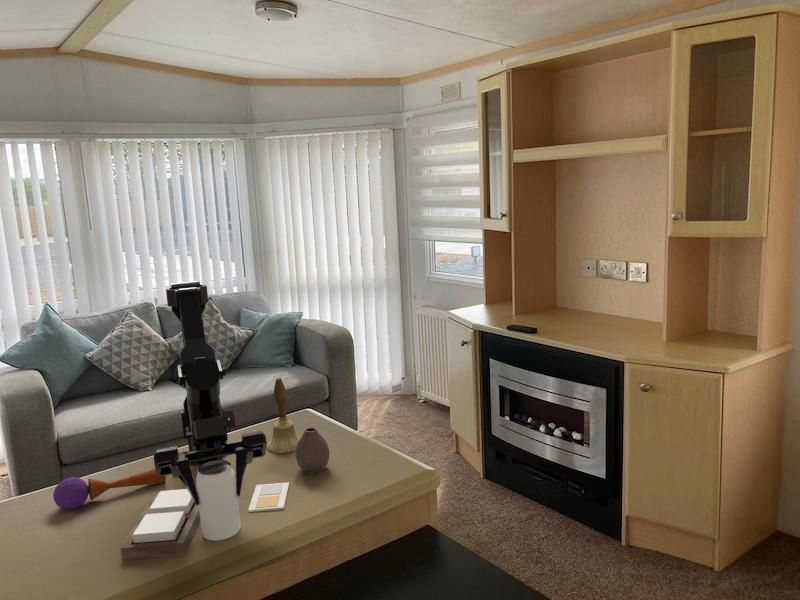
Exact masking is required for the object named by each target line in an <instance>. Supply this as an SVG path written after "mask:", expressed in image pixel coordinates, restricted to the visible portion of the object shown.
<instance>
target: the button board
mask: <svg viewBox="0 0 800 600" xmlns="http://www.w3.org/2000/svg"><path fill="white" fill-rule="evenodd" d="M157 496H158V495H154V496H153V497H152V499H150V501H149V503H148V505H147V507H146V508H145V509H144V511H143V512H142V514H141V515H140V517H139V519H138V521H137V522H136V524H135V525H134V527H133V528H132V530H131V531H130V533H129V534H128V536H127V538H125V541H124V542H123V544H122V545H121V546H120V554H121V560H133V559H134V560H135V559H143V558H144V559H145V558H157V557H158V558H160V557H170V556H180V555H181V556H182V555H186V553H187V550H188V548H189V546H190V544H191V542H192V539H193V537H194V536H195V534H196V531H197V529H198V527H199V524H200V523H201V521H200V513H199V505H197V506H196V504H195V502H194V503H193V505H194V506H193V505H192V506H193V509H192V511H191V512H190V514H185V521H184V523H183V525H182V527H181V529H182V531H181V532H180V535H178V536H179V537H178V538H177V540H172V541H171V540H170V541H162V542H161V541H158V542H146V543H134V540H133V533H134V532H135V530H136V529H137V527H138V526H139V524H140V522H141V521H142V519H143V518H144V516H145V515H146V514H150V510H149V508H150V507H151V505H152V504H153V502H154V500H155V499H156V497H157ZM181 529H180V530H181Z"/></svg>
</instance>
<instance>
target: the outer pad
mask: <svg viewBox="0 0 800 600" xmlns="http://www.w3.org/2000/svg"><path fill="white" fill-rule="evenodd" d="M185 515H186V514H185V512H184V511H180V512H168V513H156V514H146V515H145V516H144V518H143V519H142V521H141V522H140V524H139V526H138V527H137V529H136V530H135V532H134V533H133V540H134V543H139V544H142V543H153V542H161V541H162V542H165V541H171V540H172V541H176V539H177V536H179V535H178V534H179V533H180V530H181V527H182V525H183V523H184V521H185Z"/></svg>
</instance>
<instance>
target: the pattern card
mask: <svg viewBox="0 0 800 600" xmlns="http://www.w3.org/2000/svg"><path fill="white" fill-rule="evenodd" d="M289 488H290V482H289V481H288V482H278V483H266V484H264V483H263V484H256V485H255V487H254V491H253V494H252V498H251V501H250V504H249V507H248V510H247V512H248V513H254V512H267V511H268V512H269V511H277V510H278V511H281V510H284V509H285V506H286V501H287V497H288V491H289Z"/></svg>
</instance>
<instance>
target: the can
mask: <svg viewBox="0 0 800 600" xmlns="http://www.w3.org/2000/svg"><path fill="white" fill-rule="evenodd" d="M196 472H197V474H196V477H195V487H196V489H197V495H198V502H199V513H200V527H201V534H202V535H201V536H202V537H203V538H204V539H205V540H207V541H210V542H221V541H227V540H229V539H231V538H233V537H235V536H236V535H237V534H238V533H239V532H240V531H241V530H240V529H241V528H242V527H241V526H242V525H241V516H240V507H239V499H238V498H239V497H238V495H237V487H236V471H235V469H233V467H232V463H231V462H230V461H228V460H226V459H219V460H215V461H210V462H207V463H204V464H202V465H200V466H198V468H197V469H196Z"/></svg>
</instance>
